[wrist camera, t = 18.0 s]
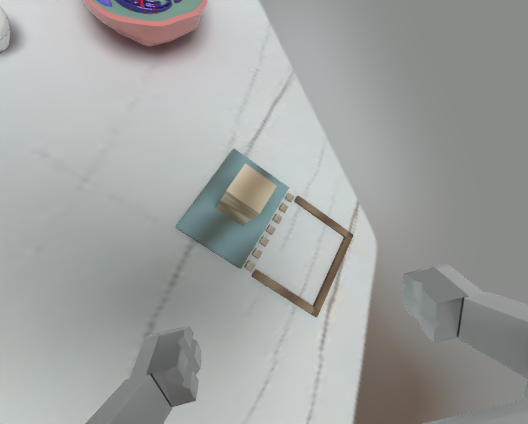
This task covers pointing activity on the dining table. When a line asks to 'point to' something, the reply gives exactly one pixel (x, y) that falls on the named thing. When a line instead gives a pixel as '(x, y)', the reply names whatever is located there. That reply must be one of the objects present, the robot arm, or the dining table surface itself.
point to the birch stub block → (246, 195)
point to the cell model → (148, 18)
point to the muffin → (4, 30)
